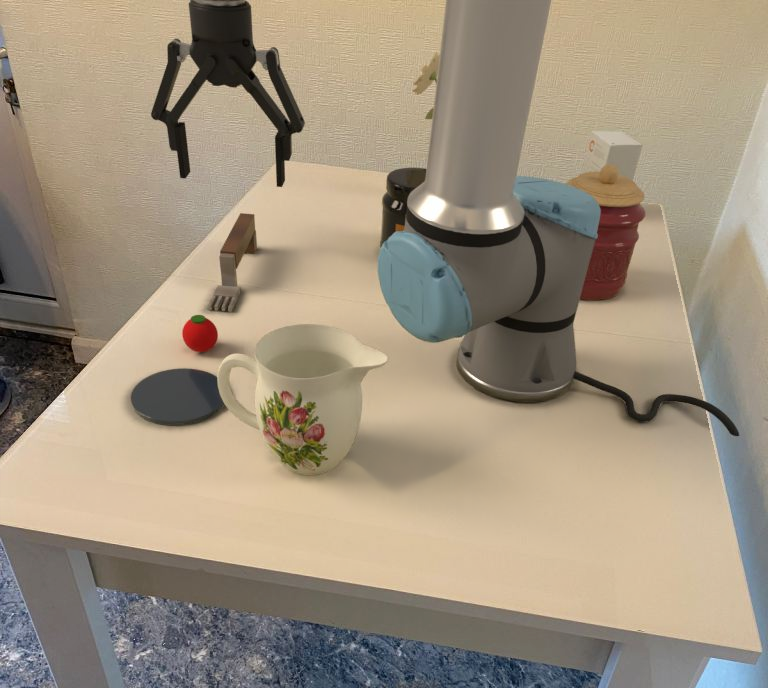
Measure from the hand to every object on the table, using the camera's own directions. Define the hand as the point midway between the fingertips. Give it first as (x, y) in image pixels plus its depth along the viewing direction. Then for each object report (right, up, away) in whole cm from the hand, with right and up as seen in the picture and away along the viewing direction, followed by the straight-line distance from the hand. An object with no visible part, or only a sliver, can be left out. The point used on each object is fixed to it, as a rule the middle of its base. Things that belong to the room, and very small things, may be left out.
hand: (233, 179), depth 104 cm
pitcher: (+12, -41, -23) cm, 49 cm away
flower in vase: (+31, +9, +32) cm, 45 cm away
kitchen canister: (+53, -11, +12) cm, 55 cm away
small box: (+62, +9, +34) cm, 71 cm away
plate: (-3, -34, -17) cm, 38 cm away
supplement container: (+26, -5, +16) cm, 31 cm away
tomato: (-2, -26, -9) cm, 28 cm away
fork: (-1, -12, +6) cm, 13 cm away
